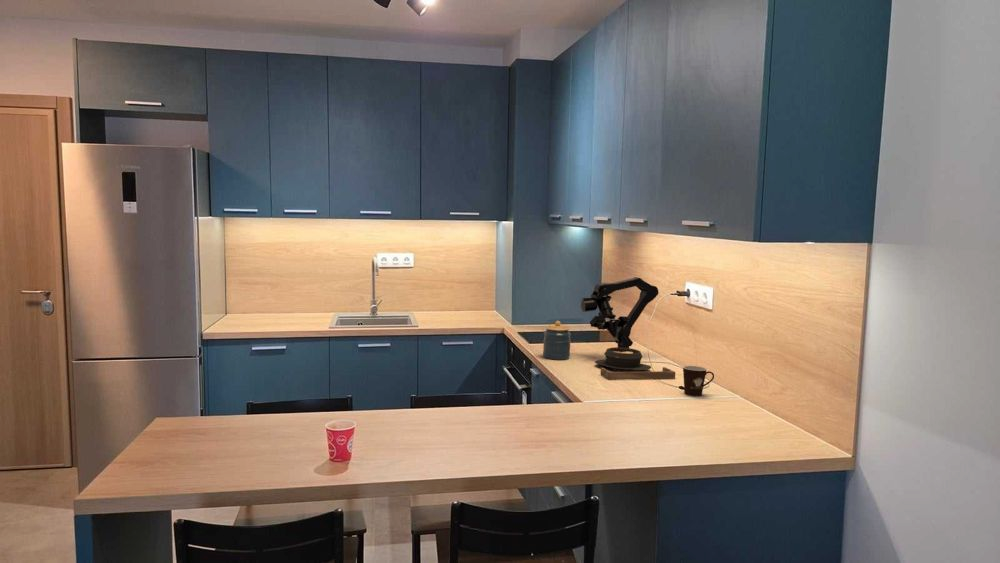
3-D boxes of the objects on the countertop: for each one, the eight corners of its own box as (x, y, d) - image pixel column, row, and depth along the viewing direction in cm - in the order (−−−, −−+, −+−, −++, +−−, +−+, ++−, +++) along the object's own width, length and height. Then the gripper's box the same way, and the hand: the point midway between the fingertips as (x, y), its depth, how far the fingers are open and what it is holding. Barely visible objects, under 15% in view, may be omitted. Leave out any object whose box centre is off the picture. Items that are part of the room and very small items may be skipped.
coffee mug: (681, 395, 244) (682, 369, 243) (681, 390, 252) (683, 364, 251) (713, 398, 240) (715, 372, 239) (712, 393, 248) (714, 368, 248)
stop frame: (600, 374, 273) (600, 367, 273) (664, 373, 280) (665, 367, 280) (608, 379, 264) (609, 372, 264) (675, 378, 271) (675, 371, 271)
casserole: (588, 368, 285) (589, 349, 285) (603, 361, 301) (604, 344, 301) (643, 376, 273) (644, 357, 272) (656, 369, 289) (657, 350, 288)
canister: (538, 355, 311) (540, 318, 309) (563, 354, 314) (565, 318, 313) (548, 360, 298) (550, 323, 297) (574, 360, 302) (576, 322, 301)
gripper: (612, 317, 317) (622, 345, 309) (580, 317, 309) (589, 345, 301) (624, 305, 309) (634, 333, 301) (591, 304, 301) (601, 333, 293)
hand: (614, 337), depth 299 cm, fingers closed
